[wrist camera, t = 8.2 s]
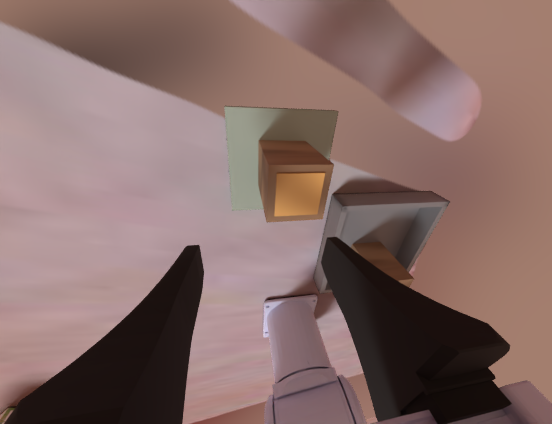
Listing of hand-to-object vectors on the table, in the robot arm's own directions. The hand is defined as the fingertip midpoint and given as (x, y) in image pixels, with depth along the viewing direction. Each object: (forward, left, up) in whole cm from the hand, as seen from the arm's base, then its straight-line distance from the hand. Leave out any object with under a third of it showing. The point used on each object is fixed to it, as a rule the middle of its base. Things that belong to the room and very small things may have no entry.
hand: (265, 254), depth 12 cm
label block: (+2, -2, -9) cm, 9 cm away
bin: (-8, -14, -9) cm, 19 cm away
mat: (+2, -2, -9) cm, 10 cm away
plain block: (-10, -14, -9) cm, 20 cm away
